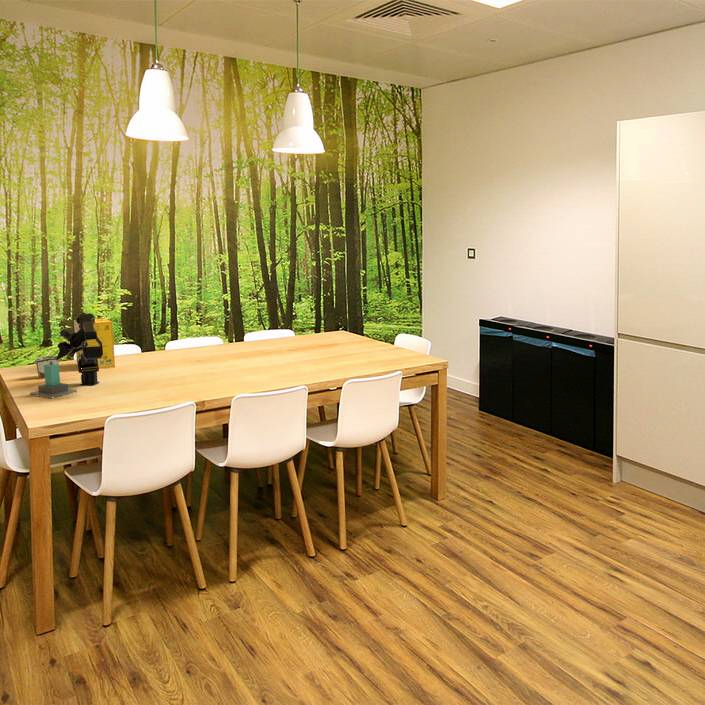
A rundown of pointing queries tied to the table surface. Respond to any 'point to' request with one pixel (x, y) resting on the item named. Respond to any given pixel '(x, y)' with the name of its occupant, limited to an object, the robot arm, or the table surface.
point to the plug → (52, 374)
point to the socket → (53, 390)
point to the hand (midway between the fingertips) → (62, 356)
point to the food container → (43, 361)
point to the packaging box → (106, 337)
